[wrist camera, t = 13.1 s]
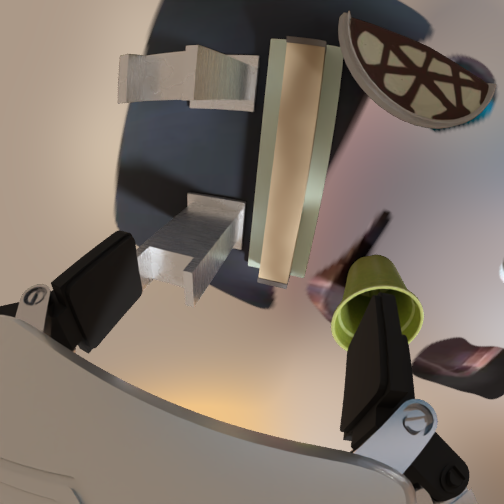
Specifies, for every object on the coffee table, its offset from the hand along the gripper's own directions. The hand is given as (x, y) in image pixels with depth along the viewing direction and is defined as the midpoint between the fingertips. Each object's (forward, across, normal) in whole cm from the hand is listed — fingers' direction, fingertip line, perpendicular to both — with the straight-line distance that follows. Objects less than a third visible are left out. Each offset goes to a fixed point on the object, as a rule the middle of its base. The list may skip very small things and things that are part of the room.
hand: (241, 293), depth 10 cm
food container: (+21, -7, -10) cm, 24 cm away
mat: (+21, +1, 0) cm, 21 cm away
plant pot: (+21, -10, +11) cm, 26 cm away
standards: (+20, +9, 0) cm, 22 cm away
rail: (+20, +1, 0) cm, 20 cm away
